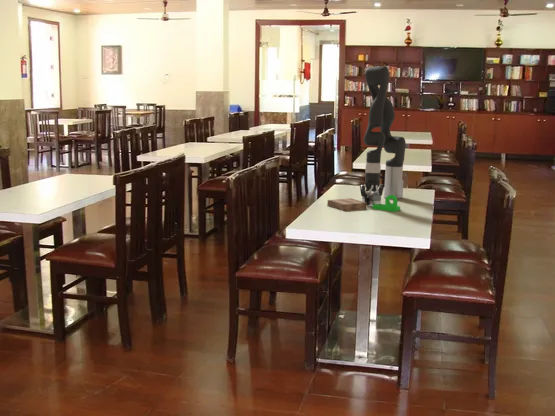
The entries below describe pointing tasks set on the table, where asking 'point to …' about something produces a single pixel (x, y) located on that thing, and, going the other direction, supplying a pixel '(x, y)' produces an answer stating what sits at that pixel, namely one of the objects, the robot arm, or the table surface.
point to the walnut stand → (347, 204)
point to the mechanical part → (388, 204)
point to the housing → (373, 199)
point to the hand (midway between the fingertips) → (371, 204)
